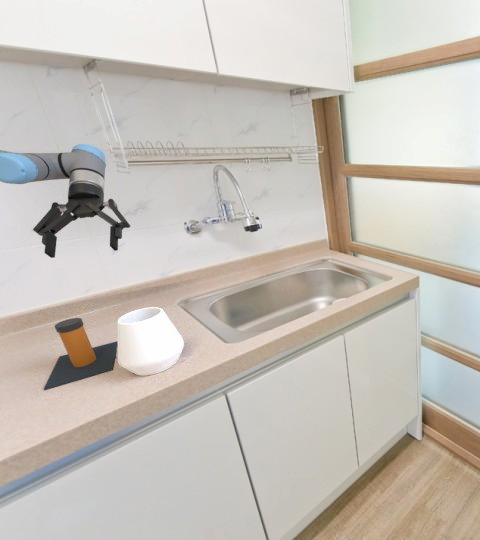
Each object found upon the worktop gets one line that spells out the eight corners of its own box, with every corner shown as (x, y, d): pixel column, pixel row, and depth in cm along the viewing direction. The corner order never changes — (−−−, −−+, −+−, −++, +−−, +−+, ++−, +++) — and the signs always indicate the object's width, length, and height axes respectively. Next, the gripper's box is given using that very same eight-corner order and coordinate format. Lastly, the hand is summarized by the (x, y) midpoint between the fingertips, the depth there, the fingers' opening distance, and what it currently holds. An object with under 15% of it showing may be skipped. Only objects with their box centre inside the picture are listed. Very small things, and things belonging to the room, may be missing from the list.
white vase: (109, 375, 79) (89, 324, 74) (163, 345, 91) (148, 300, 86) (149, 386, 75) (130, 332, 70) (200, 353, 87) (187, 306, 82)
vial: (74, 361, 84) (56, 321, 81) (98, 354, 87) (83, 315, 83) (70, 370, 81) (52, 329, 77) (96, 363, 83) (79, 323, 79)
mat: (60, 357, 87) (59, 356, 87) (118, 342, 93) (117, 341, 93) (44, 390, 75) (43, 388, 75) (112, 370, 81) (112, 368, 81)
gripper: (143, 195, 105) (143, 251, 97) (39, 201, 96) (30, 265, 88) (132, 178, 98) (132, 238, 91) (20, 184, 89) (9, 251, 81)
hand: (82, 251), depth 89 cm, fingers open, 13 cm apart
